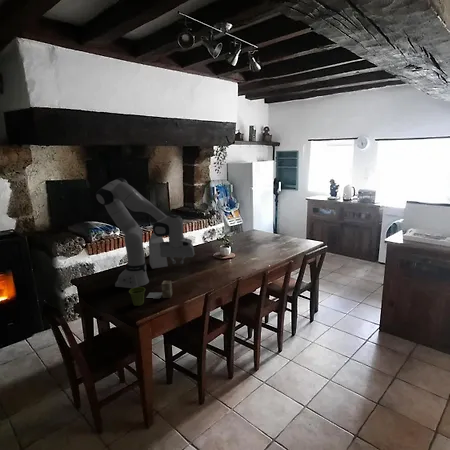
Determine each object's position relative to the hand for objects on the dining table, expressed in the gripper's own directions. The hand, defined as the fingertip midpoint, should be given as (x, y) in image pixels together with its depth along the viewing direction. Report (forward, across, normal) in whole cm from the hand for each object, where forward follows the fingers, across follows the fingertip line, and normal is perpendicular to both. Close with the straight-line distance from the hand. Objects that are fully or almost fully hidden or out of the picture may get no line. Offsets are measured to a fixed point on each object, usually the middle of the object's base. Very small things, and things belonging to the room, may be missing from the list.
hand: (178, 263), depth 197 cm
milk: (+21, -28, +54) cm, 64 cm away
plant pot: (+21, -23, -11) cm, 33 cm away
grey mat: (+21, -16, 0) cm, 26 cm away
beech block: (+21, -8, 0) cm, 23 cm away
